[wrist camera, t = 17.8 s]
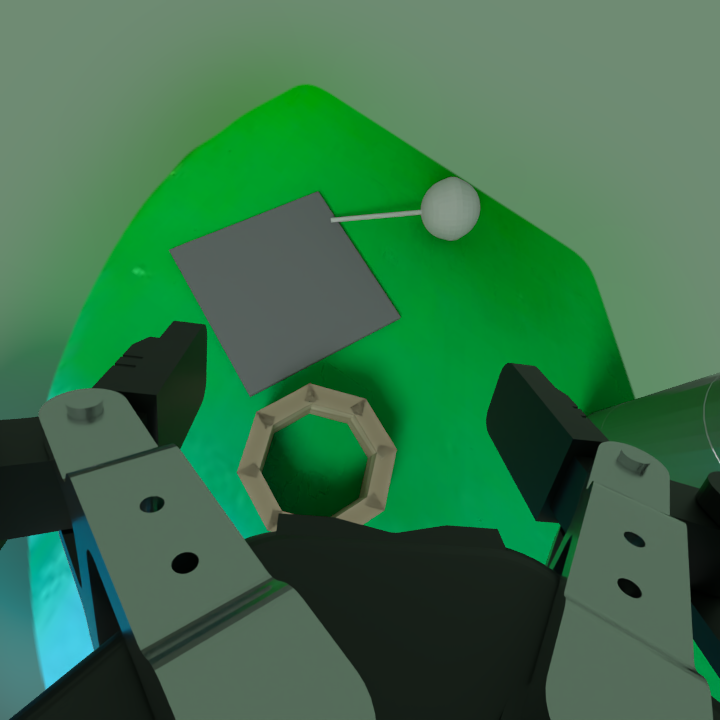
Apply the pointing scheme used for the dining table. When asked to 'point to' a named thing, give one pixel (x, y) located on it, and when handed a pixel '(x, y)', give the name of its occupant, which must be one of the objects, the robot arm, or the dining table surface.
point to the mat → (283, 290)
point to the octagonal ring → (331, 407)
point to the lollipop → (440, 209)
